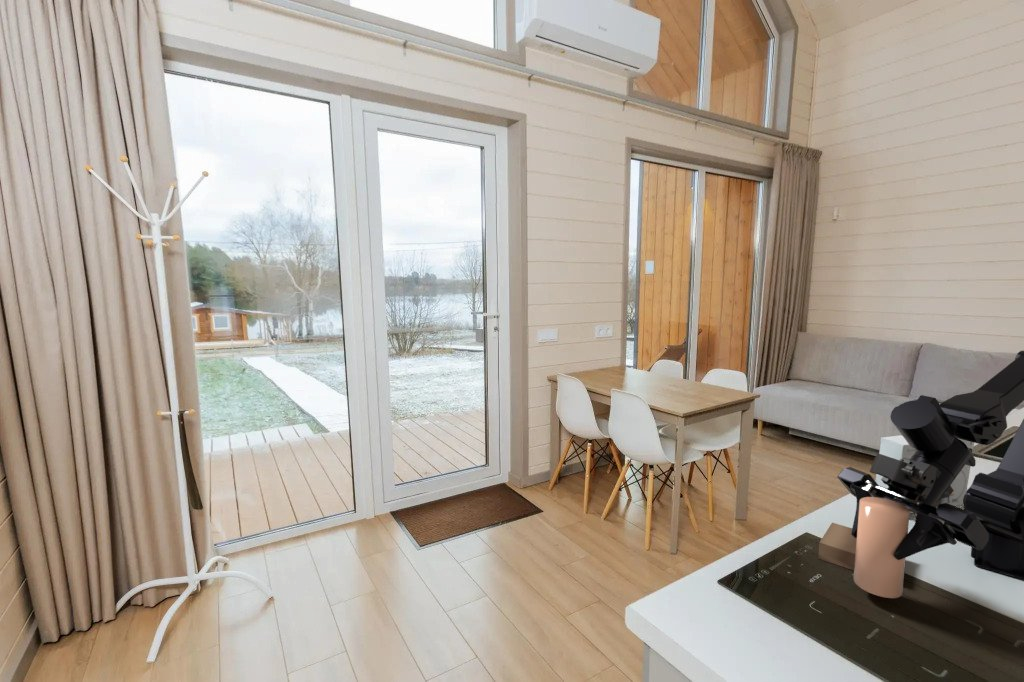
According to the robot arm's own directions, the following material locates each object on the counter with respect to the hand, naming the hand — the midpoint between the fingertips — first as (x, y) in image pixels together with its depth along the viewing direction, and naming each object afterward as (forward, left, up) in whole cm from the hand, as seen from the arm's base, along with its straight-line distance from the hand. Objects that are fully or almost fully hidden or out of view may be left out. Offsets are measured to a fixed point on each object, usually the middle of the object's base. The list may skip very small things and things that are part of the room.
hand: (873, 546), depth 73 cm
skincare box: (-3, -46, -9) cm, 47 cm away
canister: (-1, -1, -7) cm, 7 cm away
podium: (+3, -12, -8) cm, 15 cm away
